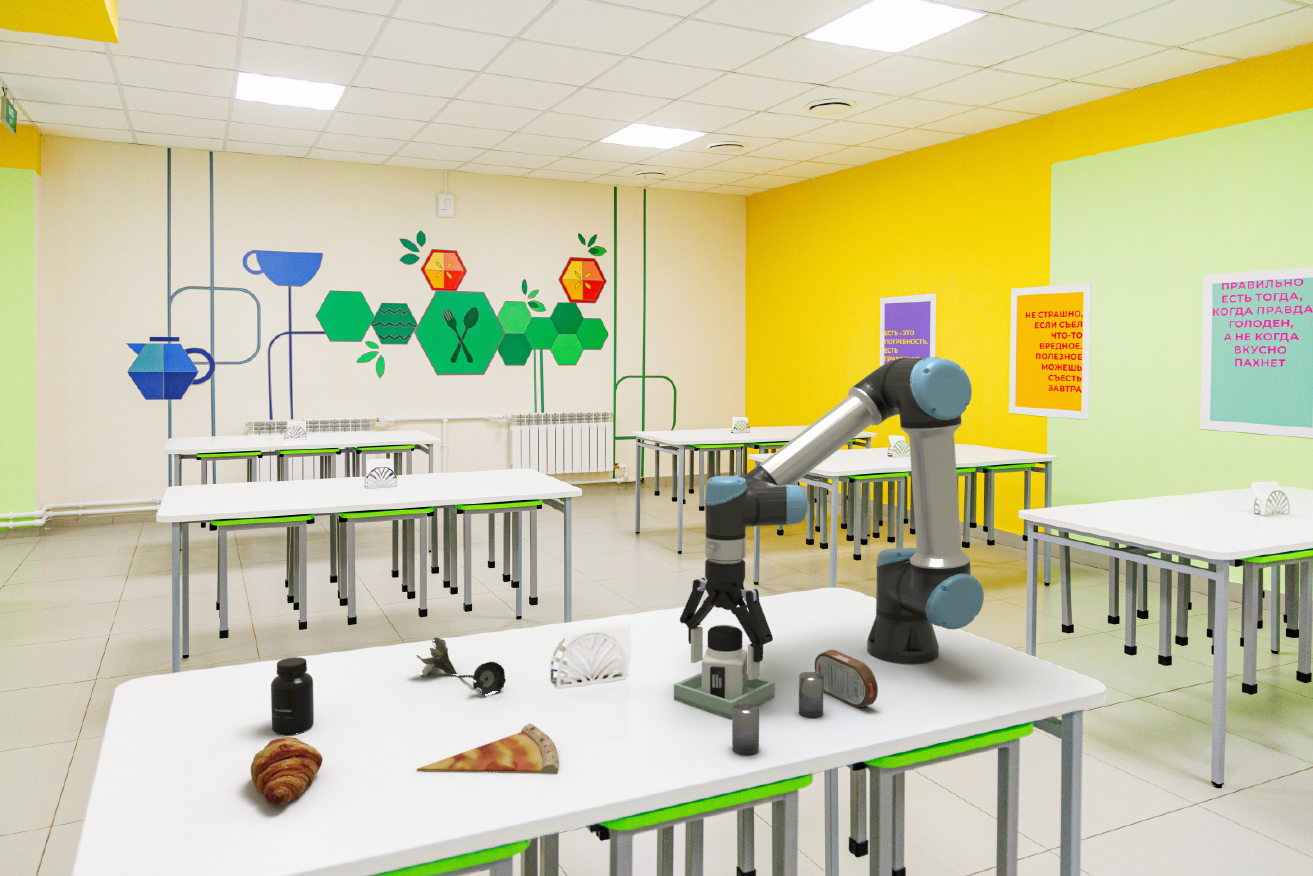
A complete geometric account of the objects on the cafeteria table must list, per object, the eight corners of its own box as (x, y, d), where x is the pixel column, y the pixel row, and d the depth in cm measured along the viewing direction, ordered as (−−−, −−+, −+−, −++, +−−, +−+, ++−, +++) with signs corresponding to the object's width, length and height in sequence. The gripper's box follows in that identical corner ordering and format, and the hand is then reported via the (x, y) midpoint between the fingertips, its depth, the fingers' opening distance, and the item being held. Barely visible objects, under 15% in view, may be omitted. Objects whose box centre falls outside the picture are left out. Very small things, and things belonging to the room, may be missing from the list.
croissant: (272, 775, 144) (245, 737, 143) (329, 739, 147) (303, 701, 145) (262, 839, 124) (230, 795, 123) (328, 796, 127) (298, 752, 125)
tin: (878, 711, 162) (879, 666, 161) (865, 715, 160) (866, 670, 159) (823, 685, 175) (824, 644, 174) (811, 688, 173) (811, 646, 172)
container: (742, 704, 163) (743, 635, 162) (701, 700, 164) (701, 632, 163) (747, 688, 170) (747, 623, 169) (707, 685, 172) (707, 620, 171)
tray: (718, 680, 177) (718, 665, 177) (774, 697, 168) (774, 682, 168) (673, 699, 167) (673, 684, 167) (731, 719, 158) (731, 703, 158)
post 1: (742, 741, 149) (743, 701, 148) (764, 749, 146) (764, 708, 145) (726, 750, 146) (727, 709, 145) (748, 758, 143) (748, 716, 142)
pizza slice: (444, 732, 154) (443, 720, 154) (570, 733, 153) (570, 722, 153) (416, 774, 138) (416, 762, 138) (557, 776, 138) (557, 764, 137)
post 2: (807, 707, 164) (807, 670, 163) (827, 713, 161) (828, 676, 160) (793, 714, 160) (794, 676, 160) (814, 720, 157) (815, 682, 157)
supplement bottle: (273, 739, 150) (270, 670, 149) (270, 724, 156) (268, 658, 155) (316, 731, 153) (314, 664, 152) (312, 717, 159) (309, 652, 158)
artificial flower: (473, 710, 166) (456, 662, 164) (418, 690, 183) (402, 647, 181) (511, 686, 172) (495, 639, 170) (454, 669, 189) (439, 626, 187)
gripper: (662, 552, 171) (662, 659, 173) (768, 573, 154) (767, 691, 156) (687, 546, 176) (686, 649, 178) (792, 566, 160) (791, 679, 161)
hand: (724, 669), depth 167 cm, fingers open, 13 cm apart
